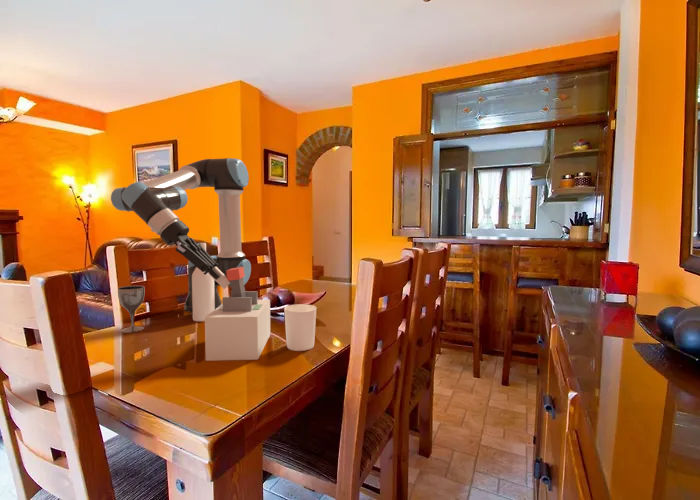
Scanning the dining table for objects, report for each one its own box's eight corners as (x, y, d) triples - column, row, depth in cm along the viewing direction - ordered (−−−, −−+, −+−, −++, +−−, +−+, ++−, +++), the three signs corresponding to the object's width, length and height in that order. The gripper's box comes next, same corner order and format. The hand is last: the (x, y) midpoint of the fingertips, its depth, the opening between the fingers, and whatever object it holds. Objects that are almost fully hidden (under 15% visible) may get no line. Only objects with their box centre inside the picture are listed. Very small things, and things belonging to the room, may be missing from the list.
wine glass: (114, 330, 119) (112, 288, 118) (137, 325, 126) (136, 284, 125) (127, 334, 115) (125, 290, 114) (150, 328, 122) (149, 286, 121)
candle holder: (310, 353, 99) (310, 312, 99) (279, 350, 101) (278, 310, 100) (320, 342, 109) (320, 305, 108) (291, 339, 111) (291, 303, 110)
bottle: (194, 316, 138) (192, 242, 135) (215, 315, 140) (214, 242, 138) (191, 322, 130) (189, 243, 128) (214, 320, 132) (212, 243, 130)
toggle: (237, 302, 107) (231, 268, 106) (249, 301, 107) (243, 266, 106) (232, 307, 101) (226, 270, 100) (244, 305, 101) (238, 269, 100)
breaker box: (228, 335, 115) (227, 288, 114) (270, 334, 116) (269, 287, 115) (205, 360, 93) (204, 302, 92) (257, 359, 94) (257, 302, 93)
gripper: (170, 236, 106) (225, 290, 109) (148, 237, 93) (211, 298, 96) (188, 219, 106) (242, 273, 109) (168, 218, 93) (230, 280, 96)
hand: (227, 285), depth 102 cm, fingers closed
